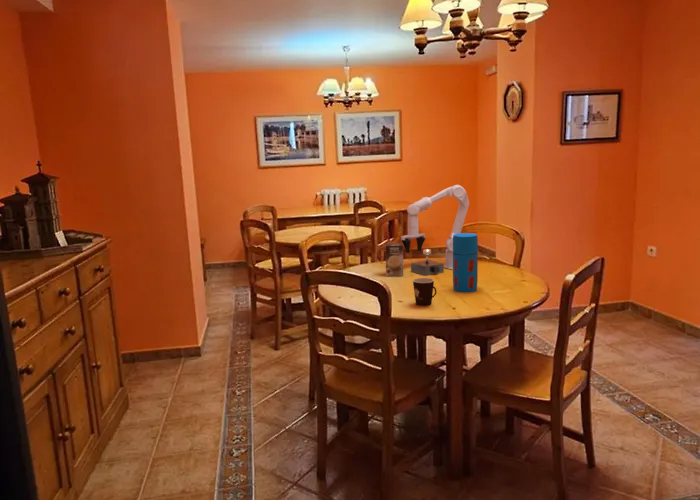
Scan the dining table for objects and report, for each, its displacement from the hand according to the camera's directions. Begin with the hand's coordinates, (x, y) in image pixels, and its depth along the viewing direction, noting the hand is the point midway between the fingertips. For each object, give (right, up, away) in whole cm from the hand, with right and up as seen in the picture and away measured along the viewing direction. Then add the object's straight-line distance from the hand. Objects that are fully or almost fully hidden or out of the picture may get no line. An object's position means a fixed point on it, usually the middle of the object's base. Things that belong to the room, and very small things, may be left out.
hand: (413, 251), depth 278 cm
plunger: (+6, -7, -9) cm, 13 cm away
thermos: (+18, -17, -45) cm, 51 cm away
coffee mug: (-4, -22, -66) cm, 69 cm away
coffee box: (-11, -12, -12) cm, 21 cm away
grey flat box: (+6, -11, -8) cm, 15 cm away
